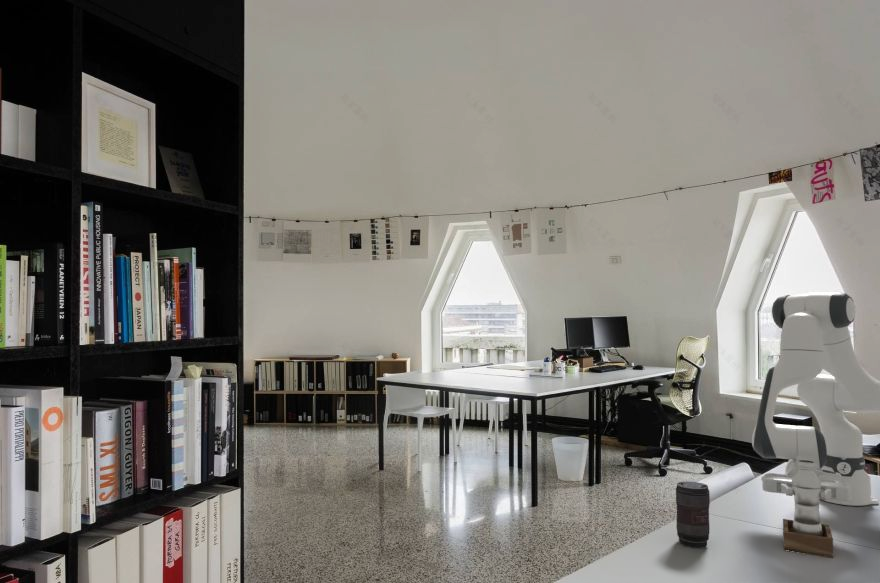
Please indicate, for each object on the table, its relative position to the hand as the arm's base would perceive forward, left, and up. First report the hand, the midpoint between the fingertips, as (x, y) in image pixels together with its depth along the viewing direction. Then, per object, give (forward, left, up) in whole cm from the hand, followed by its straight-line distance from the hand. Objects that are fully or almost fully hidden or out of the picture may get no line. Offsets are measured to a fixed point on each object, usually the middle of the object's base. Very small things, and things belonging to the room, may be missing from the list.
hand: (806, 494), depth 163 cm
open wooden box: (-1, 0, -13) cm, 13 cm away
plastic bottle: (-1, 0, -12) cm, 12 cm away
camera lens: (+10, -26, -13) cm, 31 cm away
